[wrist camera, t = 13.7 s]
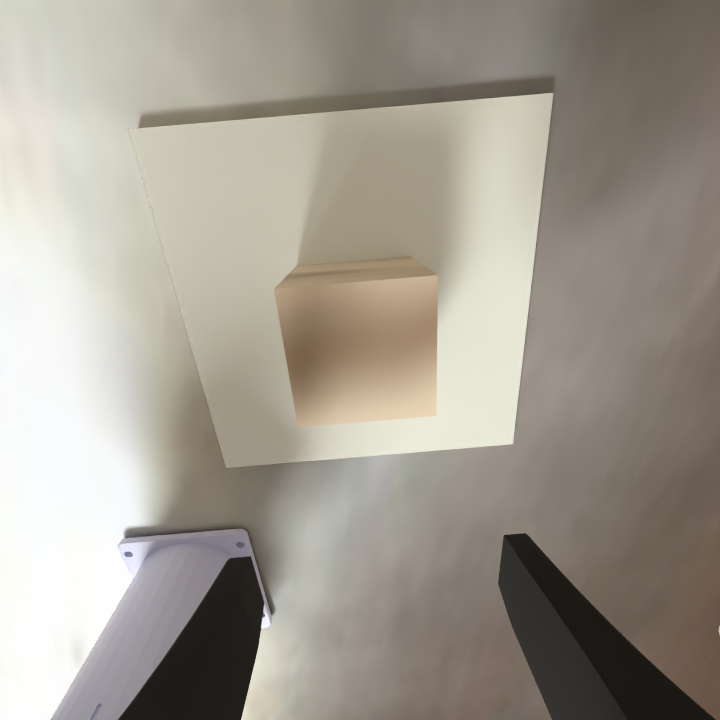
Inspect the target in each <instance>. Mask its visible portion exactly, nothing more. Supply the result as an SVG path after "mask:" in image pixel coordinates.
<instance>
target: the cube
mask: <svg viewBox="0 0 720 720" xmlns="http://www.w3.org/2000/svg"><path fill="white" fill-rule="evenodd" d="M274 293H275V299H276V305H277V310H278V316H279V322H280V328H281V333H282V339H283V345H284V350H285V356H286V362H287V367H288V373H289V379H290V384H291V390H292V396H293V402H294V407H295V413H296V419H297V424H298V427H309V426H321V425H333V424H345V423H357V422H369V421H381V420H393V419H405V418H416V417H428V416H436V410H437V320H438V275H437V274H436V273H434V272H433V271H431V270H430V269H428V268H427V267H426V266H424V265H423V264H421V263H420V262H418V261H417V260H415V259H414V258H412V257H411V256H407V257H395V258H383V259H371V260H360V261H348V262H336V263H324V264H312V265H300V266H296V267H295V268H294V269H293V270H292V271H291V272H290V273H289V274H288V275H287V276H286V277H285V278H284V279H283V280H282V281H281V282H280V283H279V284H278V285H277V286H276V287H275V288H274Z"/></svg>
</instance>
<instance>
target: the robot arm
mask: <svg viewBox="0 0 720 720" xmlns="http://www.w3.org/2000/svg"><path fill="white" fill-rule="evenodd" d="M118 549H119V551H120V553H121V555H122V557H123V559H124V561H125V563H126V565H127V567H128V569H129V571H130V573H131V575H132V577H133V580H132V582H131V584H130V585H129V587H128V589H127V591H126V592H125V594H124V596H123V597H122V599H121V601H120V603H119V604H118V606H117V608H116V609H115V611H114V613H113V614H112V616H111V618H110V620H109V621H108V623H107V625H106V626H105V628H104V630H103V631H102V633H101V635H100V637H99V638H98V640H97V642H96V643H95V645H94V647H93V649H92V650H91V652H90V654H89V655H88V657H87V659H86V660H85V662H84V664H83V666H82V667H81V669H80V671H79V672H78V674H77V676H76V677H75V679H74V681H73V683H72V684H71V686H70V688H69V689H68V691H67V693H66V694H65V696H64V698H63V700H62V701H61V703H60V705H59V706H58V708H57V710H56V712H55V713H54V715H53V717H52V718H51V720H241V717H242V713H243V709H244V705H245V701H246V696H247V692H248V688H249V684H250V680H251V675H252V671H253V667H254V663H255V658H256V654H257V650H258V645H259V638H260V631H261V628H267V627H269V626H270V625H271V622H272V617H271V613H270V610H269V606H268V602H267V599H266V595H265V592H264V588H263V585H262V581H261V578H260V574H259V571H258V567H257V564H256V560H255V557H254V553H253V550H252V546H251V543H250V539H249V536H248V533H247V532H246V531H245V530H243V529H228V530H216V531H204V532H193V533H181V534H169V535H157V536H145V537H133V538H125V539H123V540H121V542H120V543H119V545H118ZM498 584H499V588H500V591H501V594H502V597H503V600H504V603H505V607H506V610H507V613H508V616H509V619H510V622H511V624H512V627H513V630H514V632H515V634H516V637H517V639H518V641H519V644H520V646H521V648H522V651H523V653H524V655H525V658H526V660H527V662H528V665H529V667H530V669H531V672H532V674H533V676H534V679H535V681H536V683H537V685H538V688H539V690H540V692H541V695H542V697H543V699H544V702H545V704H546V706H547V709H548V711H549V713H550V716H551V718H552V720H716V719H714V718H713V717H712V716H711V715H710V714H708V713H707V712H706V711H705V710H704V709H703V708H701V707H700V706H699V705H698V704H697V703H696V702H695V701H693V700H692V699H691V698H690V697H689V696H688V695H687V694H685V693H684V692H683V691H682V690H681V689H680V688H679V687H677V686H676V685H675V684H674V683H673V682H672V681H671V680H670V679H669V678H668V677H666V676H665V675H664V674H663V673H662V672H661V671H660V670H659V669H658V668H657V667H656V666H654V665H653V664H652V663H651V662H650V661H649V660H648V659H647V658H646V657H645V656H644V655H643V654H642V653H641V652H640V651H638V650H637V649H636V648H635V647H634V646H633V645H632V644H631V643H630V642H629V641H628V640H627V639H626V638H625V637H624V636H623V635H622V634H621V633H620V632H619V631H618V630H617V629H616V628H615V627H614V626H613V625H612V624H611V623H610V622H609V621H608V620H607V619H606V618H605V617H604V616H603V615H602V614H601V613H600V612H599V611H598V610H597V609H596V608H595V607H594V606H593V605H592V604H591V603H590V602H589V601H588V600H587V599H586V598H585V597H584V596H583V595H582V594H581V593H580V592H579V591H578V590H577V589H576V588H575V586H574V585H573V584H572V583H571V582H570V581H569V580H568V579H567V578H566V577H565V576H564V575H563V574H562V572H561V571H560V570H559V569H558V568H557V567H556V566H555V565H554V564H553V563H552V562H551V560H550V559H549V558H548V557H547V556H546V555H545V554H544V553H543V552H542V550H541V549H540V548H539V547H538V546H537V545H536V544H535V543H534V542H533V540H532V539H531V538H530V537H529V536H528V535H527V534H526V533H524V534H512V535H504V538H503V547H502V555H501V563H500V572H499V580H498Z"/></svg>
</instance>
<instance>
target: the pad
mask: <svg viewBox="0 0 720 720" xmlns="http://www.w3.org/2000/svg"><path fill="white" fill-rule="evenodd" d="M552 102H553V93H545V94H533V95H522V96H510V97H498V98H487V99H475V100H463V101H452V102H440V103H428V104H417V105H405V106H393V107H381V108H370V109H358V110H346V111H335V112H323V113H311V114H300V115H288V116H276V117H265V118H253V119H241V120H229V121H218V122H206V123H194V124H183V125H171V126H159V127H148V128H136V129H128V132H129V135H130V139H131V142H132V146H133V149H134V153H135V156H136V159H137V163H138V166H139V170H140V173H141V177H142V180H143V184H144V187H145V190H146V194H147V197H148V201H149V204H150V208H151V211H152V215H153V218H154V222H155V225H156V228H157V232H158V235H159V239H160V242H161V246H162V249H163V253H164V256H165V260H166V263H167V266H168V270H169V273H170V277H171V280H172V284H173V287H174V291H175V294H176V297H177V301H178V304H179V308H180V311H181V315H182V318H183V322H184V325H185V329H186V332H187V335H188V339H189V342H190V346H191V349H192V353H193V356H194V360H195V363H196V366H197V370H198V373H199V377H200V380H201V384H202V387H203V391H204V394H205V398H206V401H207V404H208V408H209V411H210V415H211V418H212V422H213V425H214V429H215V432H216V435H217V439H218V442H219V446H220V449H221V453H222V456H223V460H224V463H225V467H226V468H233V467H245V466H257V465H269V464H281V463H293V462H305V461H317V460H329V459H341V458H352V457H364V456H376V455H388V454H400V453H412V452H424V451H436V450H448V449H460V448H472V447H484V446H496V445H507V444H513V437H514V429H515V420H516V412H517V403H518V394H519V386H520V377H521V369H522V360H523V351H524V343H525V334H526V325H527V317H528V308H529V300H530V291H531V282H532V274H533V265H534V257H535V248H536V239H537V231H538V222H539V214H540V205H541V196H542V188H543V179H544V171H545V162H546V153H547V145H548V136H549V128H550V119H551V110H552ZM407 256H411V257H412V258H414V259H415V260H417V261H418V262H420V263H421V264H423V265H424V266H426V267H427V268H428V269H430V270H431V271H433V272H434V273H436V274H437V275H438V320H437V410H436V416H428V417H416V418H405V419H393V420H381V421H369V422H357V423H345V424H333V425H321V426H309V427H298V424H297V419H296V413H295V407H294V402H293V396H292V390H291V384H290V379H289V373H288V367H287V362H286V356H285V350H284V345H283V339H282V333H281V328H280V322H279V316H278V310H277V305H276V299H275V293H274V288H275V287H276V286H277V285H278V284H279V283H280V282H281V281H282V280H283V279H284V278H285V277H286V276H287V275H288V274H289V273H290V272H291V271H292V270H293V269H294V268H295V267H296V266H300V265H312V264H324V263H336V262H348V261H360V260H371V259H383V258H395V257H407Z"/></svg>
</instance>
